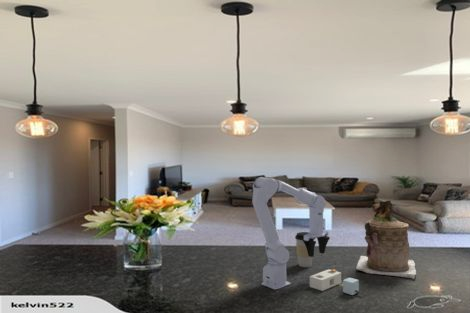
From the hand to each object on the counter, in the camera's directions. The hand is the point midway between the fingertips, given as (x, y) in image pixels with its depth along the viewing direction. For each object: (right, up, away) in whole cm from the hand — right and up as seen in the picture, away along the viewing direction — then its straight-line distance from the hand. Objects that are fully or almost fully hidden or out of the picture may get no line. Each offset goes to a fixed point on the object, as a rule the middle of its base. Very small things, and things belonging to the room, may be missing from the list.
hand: (316, 254), depth 156 cm
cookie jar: (+35, -10, +12) cm, 38 cm away
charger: (+9, -10, -17) cm, 22 cm away
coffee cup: (-1, -10, +17) cm, 20 cm away
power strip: (+4, -10, -7) cm, 13 cm away
